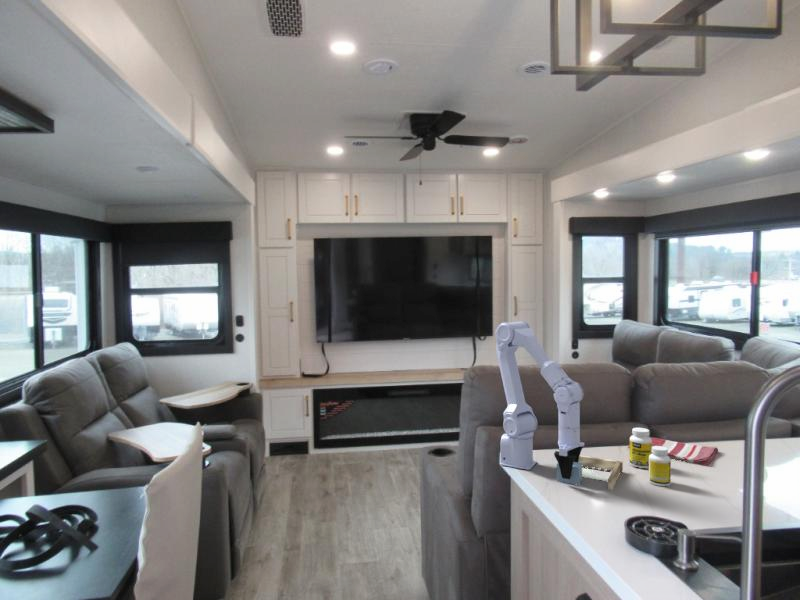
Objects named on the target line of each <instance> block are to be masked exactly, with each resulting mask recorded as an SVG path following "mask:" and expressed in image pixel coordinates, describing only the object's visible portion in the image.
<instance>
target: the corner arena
mask: <svg viewBox="0 0 800 600" xmlns="http://www.w3.org/2000/svg"><path fill="white" fill-rule="evenodd" d="M578 463H582V465H583V466H588V467H586V468H587V469H583V468H582V477H584V478H583V479H588V478H589V480H594V479H596V480H595V481H599V480H602V481H601V482H605V481H608V482H607V491H609V490H610V491H609V492H612V491H613V489H614V488H613V487H615V485H616V483H617V481H616V480H618V479H619V477H618V475H619V476H620V474H621V473H620V472H622V471H623V469H624V468H623V465H624V463H623V461H619V460H615V459H613V460H612V459H608V458H607V459H606V458H600V457H599V458H598V457H593V456H588V455H587V456H586V455H581V454H580V456H579V461H578ZM589 467H595V468H601V469H607V470H612V471H610V472H611V474H610V476H609V478H608V479H607V477H601V476H599V475H597V474H596V475H593V474H592V473H591V471H590V470H589V469H588V468H589ZM595 468H594V469H595ZM601 469H600V470H601ZM607 470H606V471H607ZM592 472H593V470H592ZM593 473H594V472H593ZM619 473H620V474H619ZM622 473H623V472H622ZM594 474H595V473H594ZM590 478H591V479H590ZM617 478H618V479H617Z"/></svg>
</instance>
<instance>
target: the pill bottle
mask: <svg viewBox="0 0 800 600" xmlns="http://www.w3.org/2000/svg"><path fill="white" fill-rule="evenodd" d="M631 434H632V435H630V437H629V446H630V451H629V464H631V465H632V467H633V466H635V467H634V468H636V467H639V468H638V469H641V468H648V469H649V455H650V454H652V439H651V438H650V437H651V436H650V430H649V429H648V428H644V427H633V428H632V431H631ZM631 465H630V466H631Z"/></svg>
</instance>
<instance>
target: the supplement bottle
mask: <svg viewBox="0 0 800 600" xmlns="http://www.w3.org/2000/svg"><path fill="white" fill-rule="evenodd" d="M652 453H653V454H650V455H649V468H648V482H649V483H650V484H652V485H653V486H659V487H669V486H670V485H671V482H672V481H671V480H672V479H671V477H672V476H671V472H672V471H671V465H672V464H671V460H672V459H670V458H669V457H668V456H667V454H668V449H667V448H666V447H662V446H653V447H652Z"/></svg>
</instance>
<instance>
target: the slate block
mask: <svg viewBox="0 0 800 600" xmlns="http://www.w3.org/2000/svg"><path fill="white" fill-rule="evenodd" d="M582 469H583V467H582V463H578V462H573V466H572V473H571V478H570V479H564V478H562V475H561V471H560V467H559V464H558V462H557V463H556V482H559V481H561V482H560V483H564V482H565V484H570V483H571V484H570V485H575V484H577V485H576V486H580V485H581V483H580V482H582V481H583V478H582Z"/></svg>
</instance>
